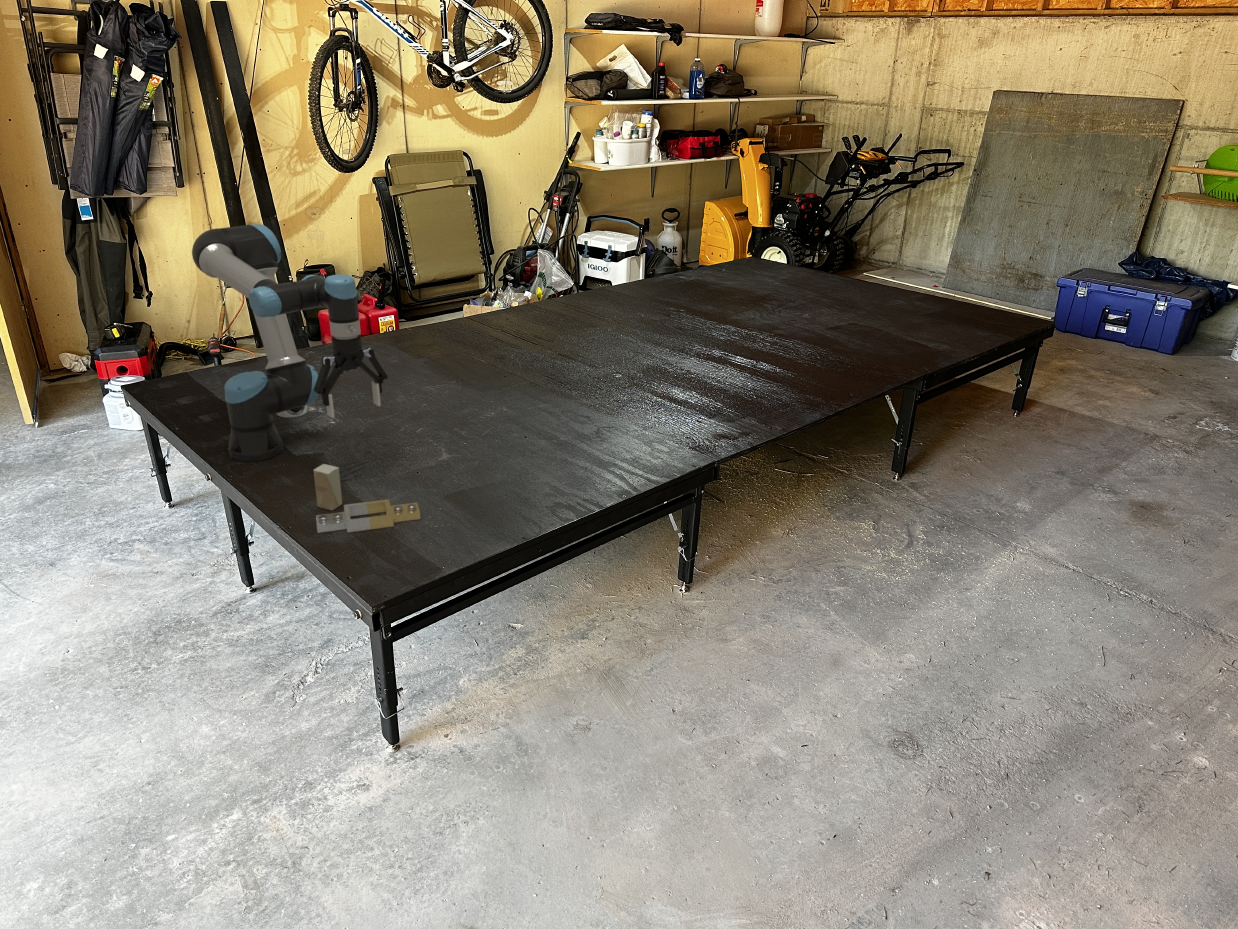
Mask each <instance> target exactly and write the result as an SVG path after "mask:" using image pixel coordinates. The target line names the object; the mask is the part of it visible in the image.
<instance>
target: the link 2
mask: <svg viewBox="0 0 1238 929" xmlns="http://www.w3.org/2000/svg"><path fill="white" fill-rule="evenodd" d="M366 502H367V510H368V514H367V515H371V514H379V513H380V514H381V513H385V514H381V515H375V516H369V518H370V527H371V530H376V529H378V530H379V529H384V528H392V527H393V528H394V527H395V525H394V524H395V523H401V522H409V521H416V520H421V519H422V518H421V511H420V507H419V505H418V504H419V503H418V502H411V503H403V504H401V503H400V504H394V505H391V501H390V499H381V500H380V499H379V500H372V501H366Z"/></svg>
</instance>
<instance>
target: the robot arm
mask: <svg viewBox="0 0 1238 929" xmlns="http://www.w3.org/2000/svg"><path fill="white" fill-rule="evenodd" d="M281 253H282V250H281V246H280V243H279V240H278V239H277V237H276V235H275V234H274V232H273V231H272V230H271V229H270V228H269V227H267V226H266V225H264V224H250V223H249V224H244V225H236V226H228V227H219V228H211V229H207V230H206V231H204V232H202V233H201V234H199V236H198V237H197V238H196V239H195V241H194V242H193V246H192V249H191V255H192V260H193V263H194V264H195V266H196V267H197V269H198V270H200V272H202V273H203V274H205V275H206V276H208V277H209V278H214V279H215V278H216V279H219V280H220V281H221V282H223V283H225V284H227V286H229V287H231V288H232V289H233V290H235V291H236V292H238V293H239V294H240V295H243V296H244V297H245V298H246V299H248V303H249V306H250V308H251V310H252V313H253V316H254V319H255V323H256V326H257V328H258V332H259V336H260V338H261V342H262V346H263V349H264V352H265V355H266V358H267V365H265V368H264V369H265V372H263V371H259V370H253V371H246V372H245V371H244V372H241V373H238V374H235V375H233V376H231V377H230V378H229V379H228V380H227V381H226V382H225V383H224V400H225V402H226V409H227V413H228V419H229V424H230V435H229V441H228V446H227V448H228V449H227V450H228V455H230V456H229V457H230V458H231V459H232V458H233V459H232V460H234V459H235V461H239V462H244V461H245V462H248V463H249V462H260V461H261V462H262V461H266V460H270V459H272V458H275V457H277V456H278V455H280V454H281V453H283V451H284V449H285V447H284V442H283V439H282V436H281V435H280V433H279V431H278V429H277V428H276V426H275V424H274V423H275V422H274V417H273V415H275V414H276V413H279V412H283V411H287V410H290V409H294V408H298V407H304V406H305V405H307V406H308V405H310V404H313V403H315V402H316V401H317V400H318V398H319V395H321V401H322V404H323V405H324V406H325V407H326V414H327V416H328V417H329V418H330V419H331V418H332V419H333V418H335V408H334V401H333V395H332V394H331V393H330V392H331V391H332V389H333V388H334V386H335V384H336V382H337V381H338V379H339V378H340V376H341V375H342V374H343V373H344V371H345V372H348V371H350V370H357V369H358V368H360V369H361V370H362V371H364V373H366V374H367V376H369V377H370V378H371V379H373V381H371V390H372V398H373V400H372V401H373V404H374V405H376V406H377V407H381V406H382V404H381V394H382V393H383V386H382V384H383V383H384V380H388V377H389V376H388V374H387V373H386V372H385V370H384V368H383V366H382V365H381V364H380V362H379V361H378V359H377V358H376V354H375V350H374V349H372V348H371V347H366V348H365V349H364V350H363V341H362V336H361V331H362V330H361V325H360V324H361V322H360V314H359V312H360V311H359V302H358V300H359V299H358V290H357V286H356V280H355V278H354V277H353V276H351V275H347V274H346V275H345V274H332V275H328V276H326V277H324V276H320V275H317V274H309V275H305V277H303V278H302V279H301V280H295V281H289V282H284V283H283V282H282V283H278V282H277V280H276V277H275V274H276V273H277V271H278V265H277V264H279V263H280V261H281V259H282V254H281ZM317 308H323V309H326V310H327V312H328V320H329V327H330V328H329V329H330V336H332V337H331V339H330V340H331V345H332V351H333V353H332V354H333V355H332V356H329V357H327V356H325V355H324V356H322V357H321V367H320V369H319V373H318V372H317V371H316V368H315V366H312V365H311V364H308V363H307V362H306V359H305V358H303V357H302V356H300V355H299V354H298V350H297V347H296V344H295V340H294V337H293V333H292V330H291V327H290V323H289V320H288V317H287V314H290V313H295V312H300V311H306V310H312V309H317ZM364 357H366V358H367V359H368V360H369V362H370V363H371V366H372V367H373V368H374V370H375V371H376V372H377V374H376V373H375V372H374V371H373V370H372V369H371V368H369V366H368V365H367V364H366V363H365V362H363V359H364ZM333 363H335V364H334V365H333ZM332 365H333V367H332V371H331V372H330V370H331V366H332ZM265 373H266V374H265ZM276 415H277V414H276Z"/></svg>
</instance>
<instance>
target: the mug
mask: <svg viewBox="0 0 1238 929" xmlns="http://www.w3.org/2000/svg"><path fill="white" fill-rule="evenodd" d="M308 408H309V407H308V405H305V406H304V407H298V408H294V409H290V410H287V411H283V412H279V413H276V415H277V416H279V417H281V418H289V419H290V418H292V419H293V418H297V417H301V416H303V415H305V414H307V413H308V410H309V409H308Z"/></svg>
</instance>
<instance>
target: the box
mask: <svg viewBox="0 0 1238 929" xmlns="http://www.w3.org/2000/svg"><path fill="white" fill-rule="evenodd" d="M313 478H314V488H315V497H316V498H315V499H316V506H317V507H318V508H321V509H325V510H327V511H328V510H329V511H335V509H338V507H340V506H341V505H343V498H342V497H343V496H342V487H341V476H340V467H338V466H334V465H330V464H326V463H322V464H321V465H319V466H317V467H315V468H314V469H313Z"/></svg>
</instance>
